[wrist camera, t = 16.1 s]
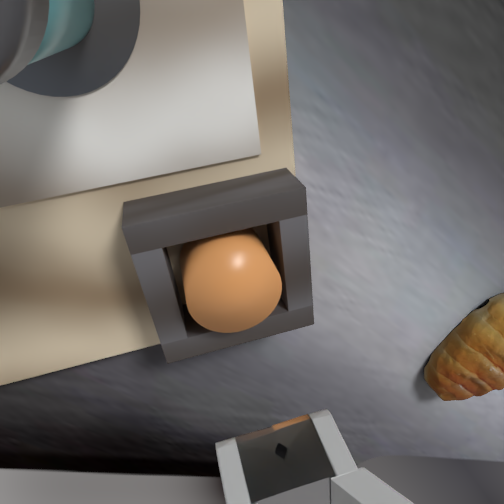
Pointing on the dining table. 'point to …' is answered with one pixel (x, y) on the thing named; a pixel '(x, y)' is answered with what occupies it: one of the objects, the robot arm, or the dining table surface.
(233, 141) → the beige board with holder
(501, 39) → the dining table surface
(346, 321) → the dining table surface
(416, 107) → the dining table surface
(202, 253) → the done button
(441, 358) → the pastry
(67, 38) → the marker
